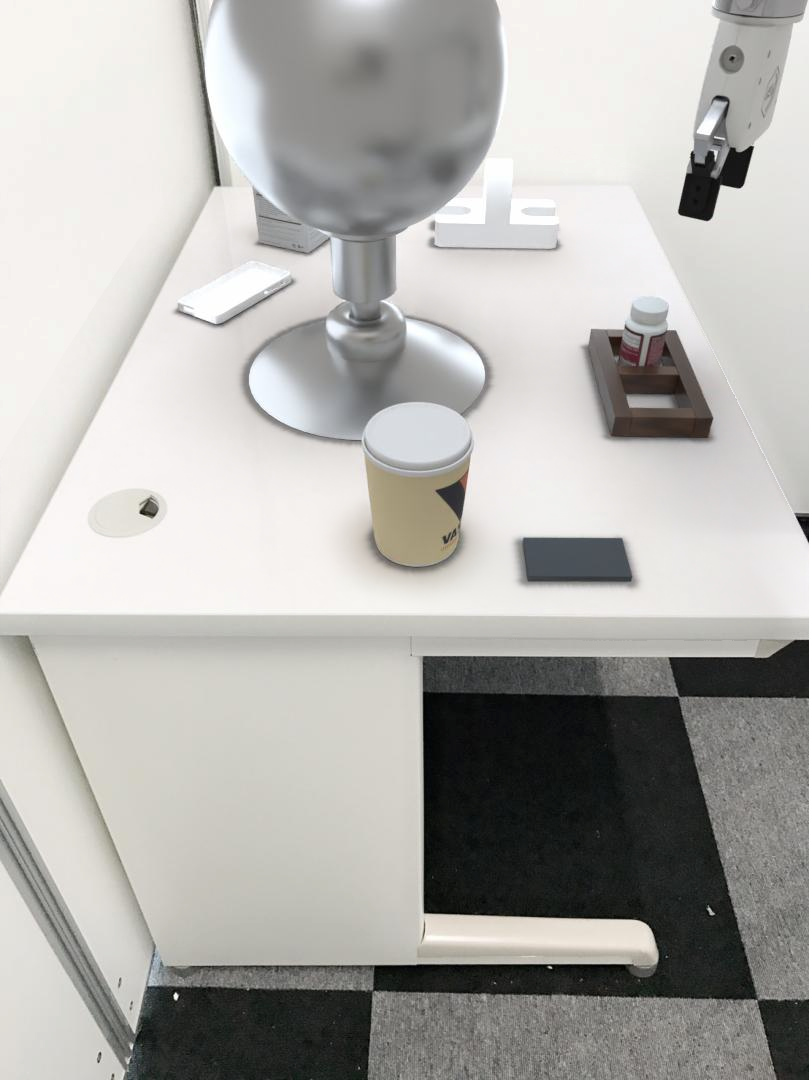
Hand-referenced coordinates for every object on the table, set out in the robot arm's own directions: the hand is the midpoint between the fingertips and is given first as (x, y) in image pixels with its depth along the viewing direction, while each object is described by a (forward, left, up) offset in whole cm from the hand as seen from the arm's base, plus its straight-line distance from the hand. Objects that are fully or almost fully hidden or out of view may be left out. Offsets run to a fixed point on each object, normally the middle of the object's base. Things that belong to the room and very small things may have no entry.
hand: (711, 200), depth 83 cm
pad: (+3, +32, -21) cm, 39 cm away
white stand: (+31, -33, -21) cm, 50 cm away
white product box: (+58, -21, -21) cm, 65 cm away
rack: (+2, +2, -21) cm, 21 cm away
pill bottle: (+4, -2, -21) cm, 22 cm away
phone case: (+57, -1, -21) cm, 61 cm away
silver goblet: (+33, +10, -21) cm, 41 cm away
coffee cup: (+17, +35, -21) cm, 44 cm away
